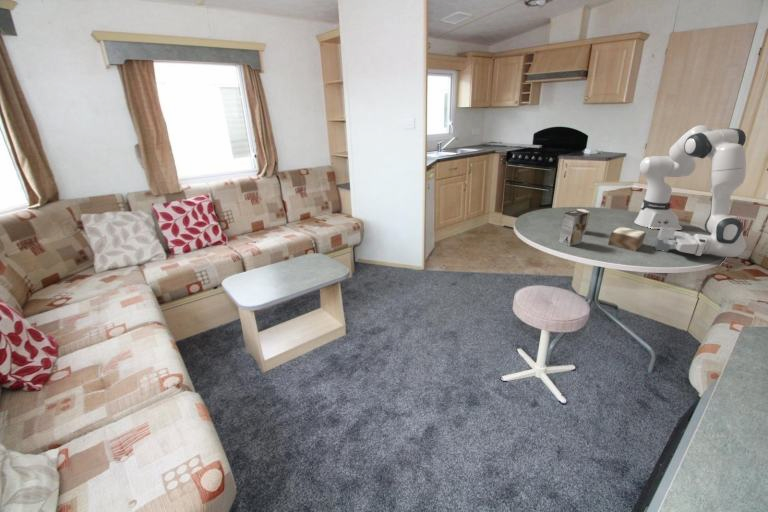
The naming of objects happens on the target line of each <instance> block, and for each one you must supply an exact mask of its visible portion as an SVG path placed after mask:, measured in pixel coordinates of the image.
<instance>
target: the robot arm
mask: <svg viewBox="0 0 768 512" xmlns="http://www.w3.org/2000/svg"><path fill="white" fill-rule="evenodd" d="M746 140H747V136H746V132H745V131H743V130H742V129H740V128H727V129H725V128H724V129H723V128H721V129H714V130H713V129H712V128H711V127H710V126H708V125H704V124H700V125H695V126H694V127H692V128H690V129H689V130H688V131H686V132H685V133H683V134H682V136H681V137H679V138H678V139H677V140H676V141H675V143H673V144H672V146H671V147H670V148H669V150H668V155H652V156H646V157H644V158H643V159H642V160H641V161H640V163H639V168H638V170H639V172H640V173H641V175H643V176H644V177H645V180H646V183H647V187H646V192H645V196H644V198H643V199H642V202H641V205H640V210H639V212H638V215H637V216H636V219H635V220H634V224H635V225H638V226H641V227H643V228H644V227H645V228H647V227H648V229H650V228H651V230H657V229H660V227H661V226H665V227H673V228H674V229H675V233H674V236H673V239H672V240H668V239H663V243H667V244H670V246H674V248H675V250H677V251H678V252H681V253H686V254H692V255H695V256H698V257H700V256H702V255H713V256H716V257H722V258H738V257H741V255H742V254H744V252H745V251H746V248H747V242H746V240H745V239H744V233H743V231H744V230H743V229H744V225H743V223H742V222H741V221H740V220H739V219H737V218H734V217H731V216H730V213H729V211H730V199H731V196H732V193H733V192H735V190H736V189H738V188H739V187H740V186H742V184H744V181H745V178H746V173H747V159H746V151H745V147H744V145H745V143H746ZM706 157H708V158H709V159H710V160H711V173H710V175H711V179H710V180H711V200H710V201H711V202H710V210H709V211H710V213H709V215H708V217H707V219H706V221H705V222H704V230H705V231H706V233H707V234H702V233H694V235H691V234H690V233H689V232H688V233H687V232H683V231H682V230H683V227H682V226H681V225H680V224H679V222H680V221H679V216H678V215H677V214H676V213H675V212H673V211H672V210H671V209H673V208H675V205H674V204H673V203H671V202H669V200H670V197H671V194H672V190H673V189H672V186H671V185H670V184H668V183H666V182H665V177H668V178H681V177H682V178H683V177H687V176H690V175H692V174H693V173H694V171H695V169H696V166H697V164H696V161H695V159H694V158H699V159H705V158H706ZM681 229H682V230H681ZM677 230H681V231H677Z"/></svg>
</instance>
